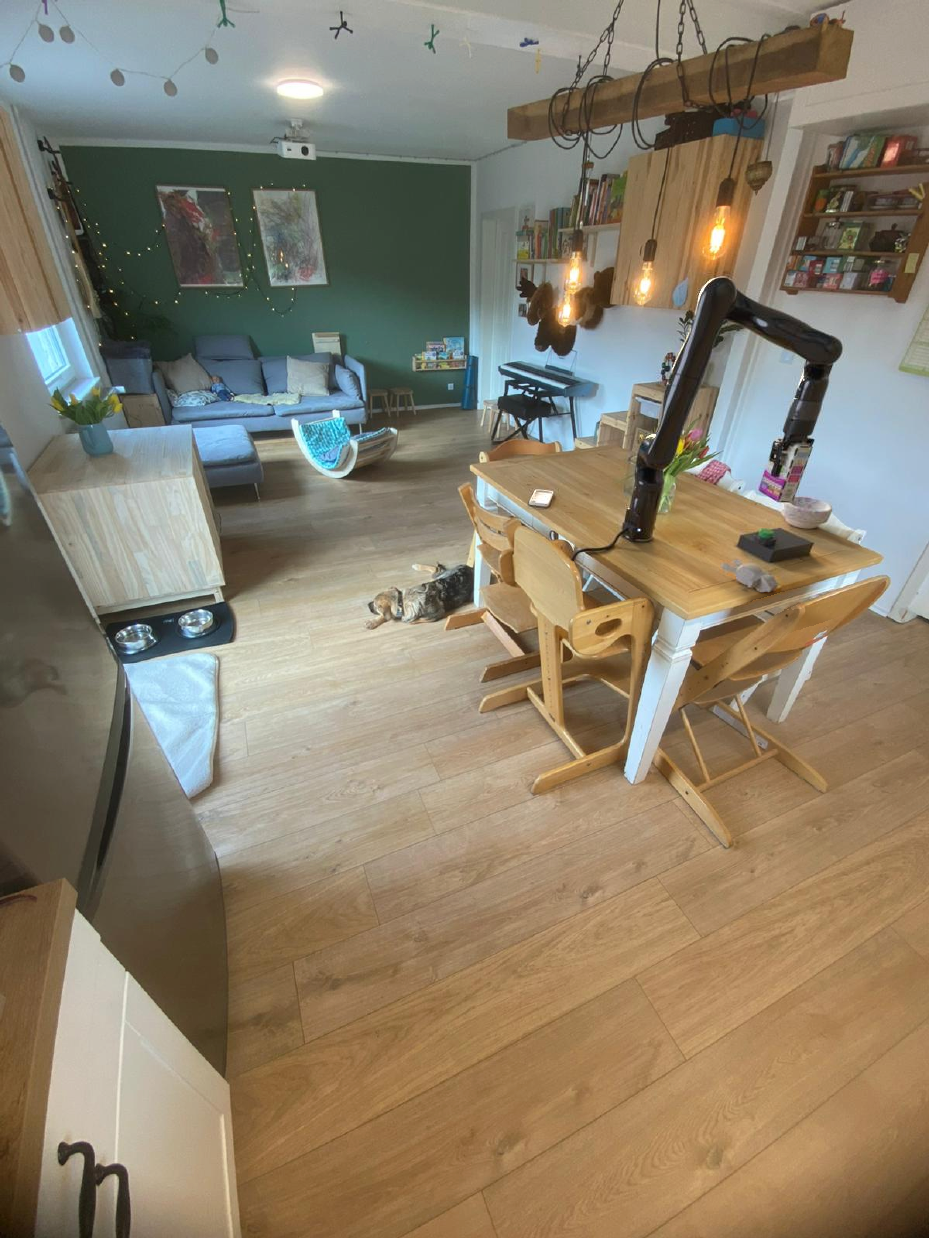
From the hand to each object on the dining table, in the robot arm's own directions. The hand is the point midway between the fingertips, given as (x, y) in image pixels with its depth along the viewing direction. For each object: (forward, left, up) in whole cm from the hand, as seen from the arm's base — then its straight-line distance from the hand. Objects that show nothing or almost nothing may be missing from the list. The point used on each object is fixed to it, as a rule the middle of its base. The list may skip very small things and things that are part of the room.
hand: (782, 475), depth 157 cm
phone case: (-41, +67, -26) cm, 83 cm away
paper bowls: (+37, +13, -26) cm, 48 cm away
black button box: (+8, 0, -26) cm, 27 cm away
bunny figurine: (-18, -14, -26) cm, 34 cm away
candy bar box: (0, 0, -7) cm, 7 cm away
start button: (+2, 0, -20) cm, 20 cm away
